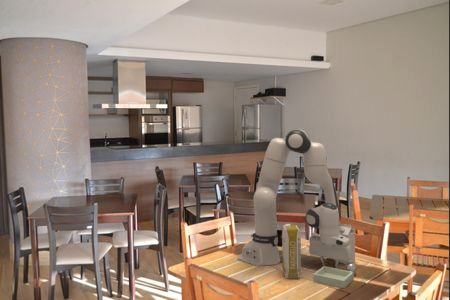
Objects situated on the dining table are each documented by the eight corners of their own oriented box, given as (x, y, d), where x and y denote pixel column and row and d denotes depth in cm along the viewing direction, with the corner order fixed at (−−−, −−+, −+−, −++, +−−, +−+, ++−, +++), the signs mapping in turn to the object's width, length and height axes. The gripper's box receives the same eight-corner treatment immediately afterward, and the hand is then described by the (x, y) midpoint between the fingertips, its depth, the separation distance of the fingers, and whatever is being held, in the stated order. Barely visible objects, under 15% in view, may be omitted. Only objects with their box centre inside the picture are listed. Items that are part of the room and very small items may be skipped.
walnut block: (324, 270, 189) (324, 260, 188) (327, 267, 192) (327, 257, 192) (332, 272, 186) (332, 261, 186) (335, 269, 190) (335, 259, 189)
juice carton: (282, 271, 188) (281, 222, 187) (298, 271, 188) (298, 221, 186) (284, 279, 179) (283, 227, 177) (302, 279, 179) (301, 226, 177)
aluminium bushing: (344, 274, 183) (344, 264, 182) (347, 271, 186) (347, 261, 186) (353, 276, 180) (353, 266, 180) (357, 273, 184) (357, 263, 183)
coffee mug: (273, 247, 226) (272, 229, 226) (273, 242, 235) (273, 226, 234) (293, 247, 224) (293, 230, 224) (293, 243, 233) (293, 226, 232)
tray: (313, 281, 176) (313, 274, 176) (323, 272, 186) (323, 265, 186) (344, 288, 168) (344, 280, 168) (353, 279, 177) (353, 271, 177)
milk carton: (342, 258, 205) (342, 222, 204) (355, 261, 200) (355, 224, 199) (335, 261, 200) (334, 224, 199) (348, 265, 195) (347, 227, 194)
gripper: (306, 236, 192) (306, 264, 193) (348, 243, 180) (348, 273, 181) (312, 233, 197) (312, 260, 198) (353, 239, 185) (353, 268, 186)
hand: (329, 266), depth 189 cm, fingers closed on walnut block, 4 cm apart
